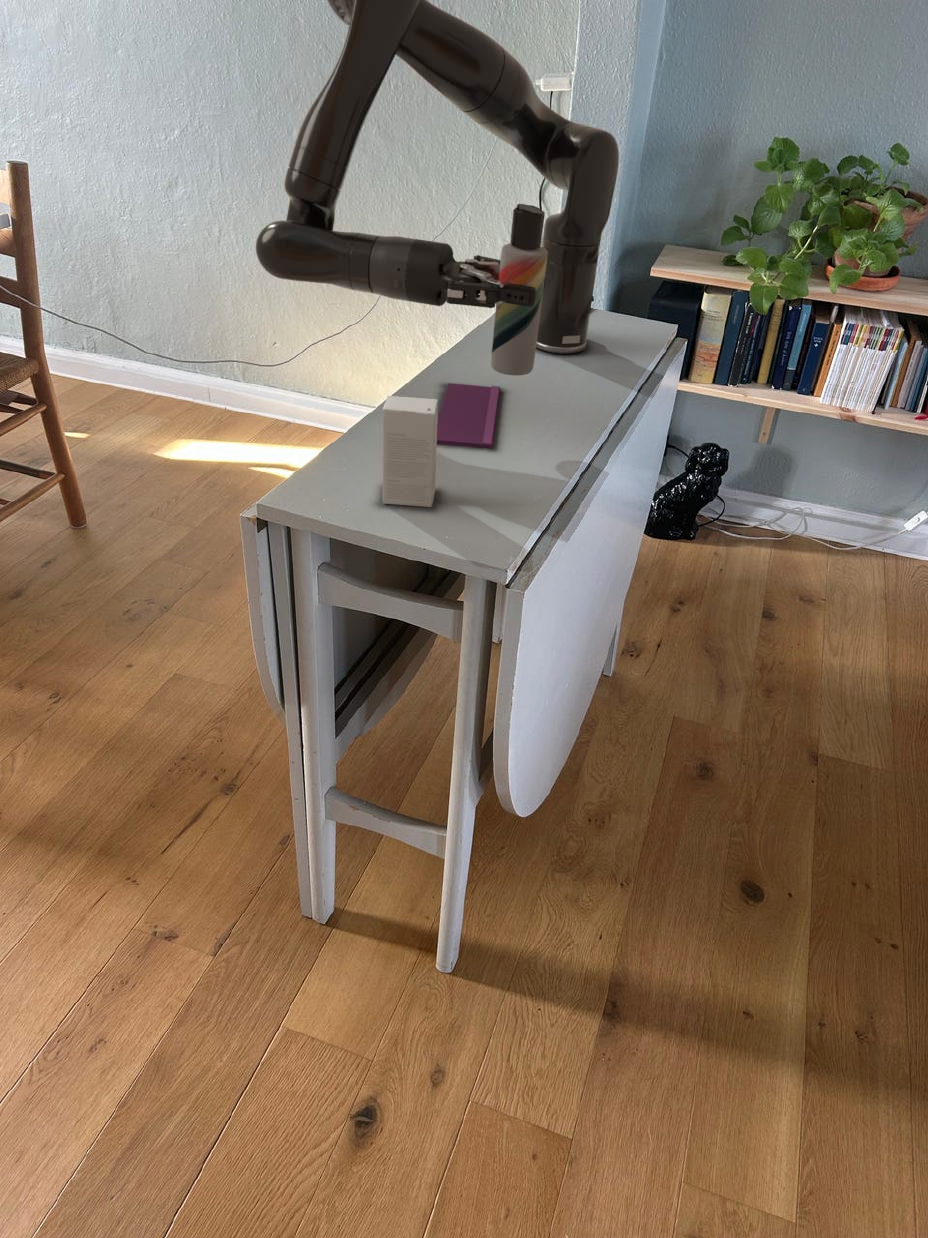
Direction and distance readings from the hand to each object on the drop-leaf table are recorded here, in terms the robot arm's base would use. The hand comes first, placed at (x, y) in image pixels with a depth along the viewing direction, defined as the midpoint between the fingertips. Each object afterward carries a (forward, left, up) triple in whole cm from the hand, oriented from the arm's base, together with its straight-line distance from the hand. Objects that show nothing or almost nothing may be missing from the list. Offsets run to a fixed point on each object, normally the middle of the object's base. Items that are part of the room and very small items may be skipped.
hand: (539, 290), depth 112 cm
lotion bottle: (0, -3, -11) cm, 11 cm away
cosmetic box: (+20, -13, -20) cm, 31 cm away
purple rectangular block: (-5, -8, -20) cm, 22 cm away
